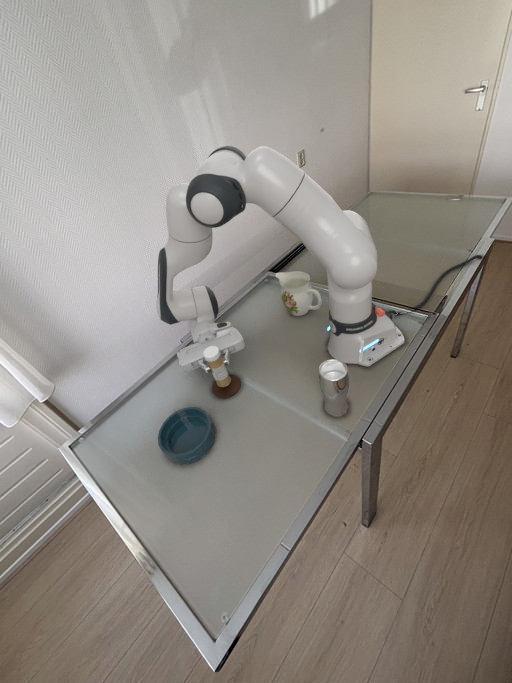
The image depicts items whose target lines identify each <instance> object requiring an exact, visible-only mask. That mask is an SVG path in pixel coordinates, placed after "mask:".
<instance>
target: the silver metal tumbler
mask: <svg viewBox="0 0 512 683" xmlns="http://www.w3.org/2000/svg"><path fill="white" fill-rule="evenodd" d="M348 370H349V369H348V366H347V363H343V362H342V361H340V360H336V359H335V358H333V359H328V360H325V361H323V362H322V363H321V364H320V365H319V367H318V383H319V388H320V391H321V393H322V395H323V398H324V404H323V405H324V410H325V412H326V414H327V415H329V416H331V417H335V418H336V417H337V418H338V417H342V416H344V415H346V414H347V413H348V410H349V403H348V400H347V396H348V392H349V387H350V376H349V371H348Z"/></svg>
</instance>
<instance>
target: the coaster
mask: <svg viewBox="0 0 512 683" xmlns="http://www.w3.org/2000/svg"><path fill="white" fill-rule="evenodd" d="M228 374H229V377H230V378H231V382H230V384H229V385H228V386H226V387H219V386H218V385H217V383H216V380H215V379H214V381H213V383H212V386H211V391H212V394H213V395H214V396H215V397H216V398H219V399H228V398H231V397H234V396H235V395H236V394H237V393H238V392H239V390H240V389H241V386H242V382H241V379H240V378H239V377H238V375H236V374H232V373H228Z"/></svg>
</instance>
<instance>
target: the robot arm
mask: <svg viewBox="0 0 512 683" xmlns="http://www.w3.org/2000/svg"><path fill="white" fill-rule="evenodd" d="M165 201H166V202H165V214H166V217H165V218H166V227H167V233H168V236H167V237H168V238H167V241H166V244H165V245H164V247H162V248H161V249H160V250H159V252H158V257H157V299H156V313H157V316H158V318H159V320H161V321H162V322H163V323H165V324H167V325H170V326H171V325H175V324H179V323H181V322H186V321H187V326H188V329H189V331H190V334H191V339H192V342H193V343H191V344H188V345H187V346H185V347H182V348H180V349H179V350H178V351H177V352H176V357H177V359H178V364H179V367H180V369H181V370H182V372H184V373H189V372H191V371H193V370H196V369H198V368H200V369H202V370H204V371H205V373H206V374H209V373H212V372H211V369H210V367H209V365H208V363H207V361H206V360H205V358H204V356H203V352H204V350H205V349H206V348H207V347H210V346H216V347H218V348H219V351H220V353H221V357H222V359H223V362H224V364H225V366H226V367H227V366H228V365H230V358H231V355H232V354H235V353H237V352H239V351H242V350H245V348H246V342H245V340H244V338H243V336H242V334H241V333H240V331H239V330H238V329H237V328H236V327H233V325H232V323H231V322H230V321H224V322H223V321H222V322H216V319H217V317H218V315H219V311H220V310H219V302H218V299H217V297H216V294H215V291H213V290H212V289H211V287H208V286H207V285H201V286H194V287H189V288H184V289H178V290H174V279H175V278H176V276H177V275H178V274H180V273H181V272H183V271H185V270H187V269H189V268H191V267H193V266H195V265H198V264H200V263H201V262H202V261H204V260H205V259H207V256H209V254H210V253H211V251H212V247H213V238H214V237H213V229H216V228H220V227H222V226H224V225H226V224H227V223H229V222H230V221H231V220H233V218H235V217H236V216H238V215H240V214H241V213H243V212H244V211H245V210H246V206H247V204H253V205H256V206H258V207H259V208H261V209H262V210H263V211H264V212H266V213H267V214H268V216H270V217H271V218H273V219H274V220H275V221H276V222H278V223H279V224H280V225H281V226H282V227H284V228H285V229H286V230H287V231H289V232H290V233H291V234H292V235H293V236H295V237H296V238H297V240H299V241H300V242H301V244H302V245H303V246H304V247H305V248H306V249H307V250H308V251H309V252H310V254H311V255H312V256H313V257H314V259H315V260H316V261H318V263H319V264H320V265H321V266H322V267H323V268H324V269H325V270H326V277H327V278H326V279H327V289H328V300H329V310H328V320H329V322H328V325H329V326H328V327H327V328H326V330H327V332H329V331H330V333H329V334H330V336H329V340H328V342H327V351H328V354H329V355H330V356H331V357H332V358H333V359H335V360H340V361H342V362H343V363H345V364H351V365H353V364H354V365H359V366H363V367H365V368H366V367H367V368H368V367H371V366H372V365H374V364H375V363H378V361H380V360H381V359H383V358H384V357H386V356H387V355H389V354H390V353H392V352H393V351H395V350H397V349H398V348H399V347H401V346H402V345H404V344H405V336H404V334H403V333H402V331H401V329H400V328H399V327H398V326H396V325H395V322H393V315H394V314H397V313H396V312H397V311H395V310H394V309H393V310H392V309H391V310H385V309H382V308H381V307H377V305H376V304H375V303H374V302H373V280H374V278H375V277H376V275H377V272H378V264H379V262H378V259H379V256H378V250H377V247H376V245H375V242H374V240H373V236H372V233H371V231H370V228H369V226H368V223H367V222H366V220H365V219H364V218H363V217H362V216H361V215H360V214H359V213H357V212H356V211H355V210H349V209H345V210H342V209H341V208H340V206H339V205H338V203H336V201H335V199H334V198H333V197H332V195H330V193H328V192H327V191H326V190H325V189H324V188H323V187H322V186H320V185H319V183H317V182H316V181H315V180H314V179H313V178H312V177H310V176H309V175H308V174H307V173H306V172H305V171H304V170H303V169H302V168H301V167H300V166H298V165H297V164H296V163H294V161H293V160H291V159H289V158H288V157H286V156H285V155H283V154H282V153H280V152H279V151H277V150H276V149H274V148H272V147H270V146H266V145H261V146H258V147H256V148H254V149H253V150H252V151H250V152H249V153H248V154H247V156H246V154H245V153H244V152H243V151H242V150H241V149H240V148H238V147H235V146H232V145H224V146H220V147H218V148H216V149H215V150H213V151H212V152H211V153H210V154H209V155H208V157H207V159H205V161H203V163H201V164H200V165H199V167H198V168H197V170H196V172H195V173H194V175H193V177H192V179H191V180H190V182H181V183H178V184H175V185H173V186H171V188H170V189H169V190H168V192H167V194H166V200H165ZM482 258H483V255H482V254H481V255H480V254H477V255H473V256H472V257H470V258H469V259H467V260H464V261H463V262H461V263H459V264H456V265H453V266H451V267H450V268H448V269H447V270H445V271H444V272H443V273H442V274H441V275H440V276H439V277H438V278H437V280H436V281H435V283H434V284H433V286H432V287H431V289H430V291H429V292H428V293H427V295H426V297H425V298H424V300H423V301H422V302H420V303H419V304H417V305H416V306H414V307H413V308H418V309H420V308H422V307H423V306H425V305H426V304H427V302H428V301H429V299H430V297H431V296H432V295H433V293H434V292H435V290H436V288H437V286H438V285H439V283H440V282H441V281H442V279H443V278H444V277H445V276H446V275H448V274H450V272H452V271H454V270H456V269H458V268H460V267H463V266H465V265H468V264H469V263H470V262H473V261H474V260H475V259H476V260H477V259H482ZM396 316H403V314H400V313H398V314H397V315H396Z"/></svg>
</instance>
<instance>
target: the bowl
mask: <svg viewBox="0 0 512 683" xmlns="http://www.w3.org/2000/svg"><path fill="white" fill-rule="evenodd" d="M216 435H217V429H216V426H215V424H214V422H213V420H212V418H211V417H210V415H209V414H208V413H207V411H206V410H204V409H203V408H201V407H199V406H198V407H197V406H187V407H183V408H180V409H179V410H175V411H174V412H173V413H172V414H170V415H169V416H168V417H167V418H166V419H165V420H164V421H163V422H162V424H161V426H160V429H159V430H158V434H157V444H158V447H159V449H160V451H161V452H162V453H163V455H164V456H165V457H166V458H167V459H168V460H169V461H170V462H172V463H174V464H176V465H181V466H183V465H191V464H193V463H196V462H198V461H200V460H201V459H203V458H204V457H205V456H206V455H207V454H208V453H209V451H211V449H212V448H213V445H214V443H215V441H216Z"/></svg>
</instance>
